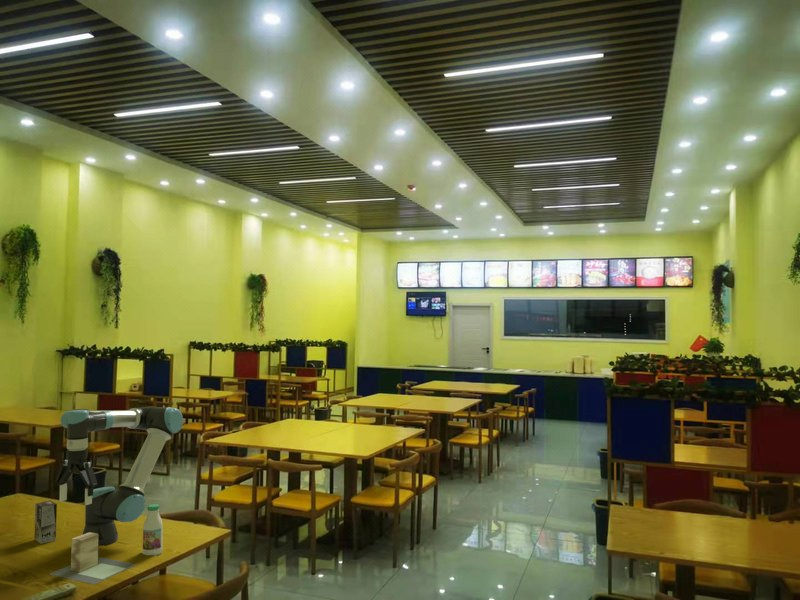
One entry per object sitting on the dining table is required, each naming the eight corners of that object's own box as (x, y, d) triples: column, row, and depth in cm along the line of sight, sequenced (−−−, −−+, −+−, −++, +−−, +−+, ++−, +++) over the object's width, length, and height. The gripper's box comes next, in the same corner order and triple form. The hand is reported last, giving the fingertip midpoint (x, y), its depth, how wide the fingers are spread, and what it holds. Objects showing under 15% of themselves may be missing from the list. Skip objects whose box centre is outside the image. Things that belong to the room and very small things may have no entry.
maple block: (70, 570, 232) (71, 538, 232) (88, 562, 239) (89, 532, 240) (80, 572, 230) (80, 540, 230) (97, 564, 237) (98, 533, 238)
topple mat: (48, 576, 228) (48, 574, 228) (93, 557, 246) (93, 555, 246) (94, 586, 219) (94, 584, 219) (137, 566, 237) (137, 564, 237)
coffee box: (56, 540, 267) (57, 503, 267) (40, 544, 262) (41, 507, 263) (49, 535, 273) (50, 499, 274) (33, 539, 268) (34, 502, 269)
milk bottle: (146, 550, 255) (147, 502, 256) (164, 549, 255) (165, 502, 256) (139, 557, 247) (140, 508, 248) (158, 556, 248) (159, 507, 249)
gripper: (46, 448, 241) (44, 501, 240) (92, 453, 232) (91, 508, 231) (62, 445, 248) (60, 497, 247) (108, 449, 239) (106, 503, 238)
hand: (75, 502), depth 239 cm, fingers open, 13 cm apart
